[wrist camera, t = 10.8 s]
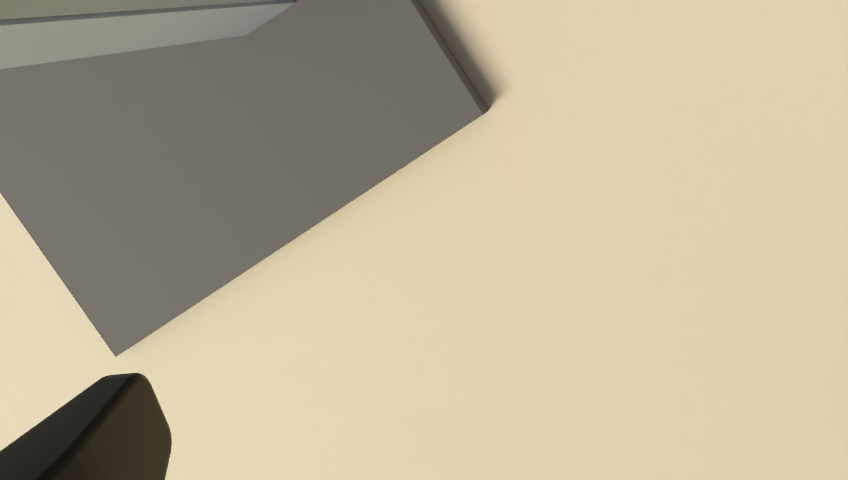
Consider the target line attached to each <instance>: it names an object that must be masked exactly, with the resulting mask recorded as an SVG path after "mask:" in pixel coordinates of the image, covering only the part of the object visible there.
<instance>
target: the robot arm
mask: <svg viewBox="0 0 848 480" xmlns="http://www.w3.org/2000/svg"><path fill="white" fill-rule="evenodd" d="M171 444H172V441H171V432H170V428H169V425H168V423H167V421H166V418H165V416H164V414H163V411H162V409H161V407H160V404H159V402H158V400H157V397H156V395H155V393H154V390H153V388H152V386H151V384H150V382H149V380H148V379H147V378H146V377H145V376H144V375H142V374H139V373H130V374H119V375H109V376H105V377H103V378H101V379H99V380H98V381H97V382H95V383H94V384H93V385H91V386H90V387H88V388H87V389H86V390H84V391H83V392H82V393H80V394H79V395H77V396H76V397H75V398H73V399H72V400H70V401H69V402H68V403H66V404H65V405H64V406H62V407H61V408H59V409H58V410H57V411H55V412H54V413H53V414H51V415H50V416H48V417H47V418H46V419H44V420H43V421H41V422H40V423H39V424H37V425H36V426H35V427H33V428H32V429H30V430H29V431H28V432H26V433H25V434H23V435H22V436H21V437H19V438H18V439H17V440H15V441H14V442H12V443H11V444H10V445H8V446H7V447H6V448H4V449H3V450H1V451H0V480H165V476H166V472H167V467H168V462H169V458H170V453H171Z"/></svg>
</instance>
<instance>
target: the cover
mask: <svg viewBox="0 0 848 480" xmlns="http://www.w3.org/2000/svg"><path fill="white" fill-rule="evenodd" d="M295 3H296V2H295V0H0V70H4V69H11V68H18V67H26V66H33V65H40V64H47V63H54V62H61V61H69V60H76V59H83V58H90V57H97V56H105V55H112V54H119V53H126V52H133V51H141V50H148V49H155V48H162V47H169V46H176V45H184V44H191V43H198V42H205V41H212V40H220V39H227V38H234V37H241V36H245V35H247V34H248V33H250V32H251V31H253V30H254V29H256V28H258V27H259V26H261V25H262V24H264V23H265V22H267V21H268V20H270V19H271V18H273V17H275V16H276V15H278V14H279V13H281V12H282V11H284V10H285V9H287V8H289V7H290V6H292V5H293V4H295Z"/></svg>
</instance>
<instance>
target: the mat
mask: <svg viewBox="0 0 848 480" xmlns="http://www.w3.org/2000/svg"><path fill="white" fill-rule="evenodd" d="M295 2H296V3H295V4H293V5H292V6H290V7H289V8H287V9H285V10H284V11H282V12H281V13H279V14H278V15H276V16H275V17H273V18H271V19H270V20H268V21H267V22H265V23H264V24H262V25H261V26H259V27H258V28H256V29H254V30H253V31H251V32H250V33H248V34H247V35H245V36H241V37H234V38H227V39H220V40H212V41H205V42H198V43H191V44H184V45H176V46H169V47H162V48H155V49H148V50H141V51H133V52H126V53H119V54H112V55H105V56H97V57H90V58H83V59H76V60H69V61H61V62H54V63H47V64H40V65H33V66H26V67H18V68H11V69H4V70H0V193H1V194H2V196H3V197H4V198H5V200H6V201H7V203H8V204H9V206H10V207H11V208H12V210H13V211H14V213H15V214H16V216H17V217H18V218H19V220H20V221H21V223H22V224H23V226H24V227H25V228H26V230H27V231H28V233H29V234H30V236H31V237H32V238H33V240H34V241H35V243H36V244H37V246H38V247H39V248H40V250H41V251H42V253H43V254H44V255H45V257H46V258H47V260H48V261H49V263H50V264H51V265H52V267H53V268H54V270H55V271H56V273H57V274H58V275H59V277H60V278H61V280H62V281H63V283H64V284H65V285H66V287H67V288H68V290H69V291H70V293H71V294H72V295H73V297H74V298H75V300H76V301H77V303H78V304H79V305H80V307H81V308H82V310H83V311H84V312H85V314H86V315H87V317H88V318H89V320H90V321H91V322H92V324H93V325H94V327H95V328H96V330H97V331H98V332H99V334H100V335H101V337H102V338H103V340H104V341H105V342H106V344H107V345H108V347H109V348H110V350H111V351H112V352H113V354H114V355H115V357H116V356H118V355H119V354H121V353H122V352H124V351H125V350H127V349H129V348H130V347H132V346H133V345H135V344H136V343H138V342H139V341H141V340H142V339H144V338H145V337H147V336H148V335H150V334H151V333H153V332H154V331H156V330H157V329H159V328H160V327H162V326H163V325H165V324H166V323H168V322H169V321H171V320H172V319H174V318H175V317H177V316H178V315H180V314H182V313H183V312H185V311H186V310H188V309H189V308H191V307H192V306H194V305H195V304H197V303H198V302H200V301H201V300H203V299H204V298H206V297H207V296H209V295H210V294H212V293H213V292H215V291H216V290H218V289H219V288H221V287H222V286H224V285H225V284H227V283H228V282H230V281H231V280H233V279H234V278H236V277H238V276H239V275H241V274H242V273H244V272H245V271H247V270H248V269H250V268H251V267H253V266H254V265H256V264H257V263H259V262H260V261H262V260H263V259H265V258H266V257H268V256H269V255H271V254H272V253H274V252H275V251H277V250H278V249H280V248H281V247H283V246H284V245H286V244H287V243H289V242H291V241H292V240H294V239H295V238H297V237H298V236H300V235H301V234H303V233H304V232H306V231H307V230H309V229H310V228H312V227H313V226H315V225H316V224H318V223H319V222H321V221H322V220H324V219H325V218H327V217H328V216H330V215H331V214H333V213H334V212H336V211H337V210H339V209H340V208H342V207H343V206H345V205H347V204H348V203H350V202H351V201H353V200H354V199H356V198H357V197H359V196H360V195H362V194H363V193H365V192H366V191H368V190H369V189H371V188H372V187H374V186H375V185H377V184H378V183H380V182H381V181H383V180H384V179H386V178H387V177H389V176H390V175H392V174H393V173H395V172H396V171H398V170H400V169H401V168H403V167H404V166H406V165H407V164H409V163H410V162H412V161H413V160H415V159H416V158H418V157H419V156H421V155H422V154H424V153H425V152H427V151H428V150H430V149H431V148H433V147H434V146H436V145H437V144H439V143H440V142H442V141H443V140H445V139H446V138H448V137H449V136H451V135H452V134H454V133H456V132H457V131H459V130H460V129H462V128H463V127H465V126H466V125H468V124H469V123H471V122H472V121H474V120H475V119H477V118H478V117H480V116H481V115H483V114H484V113H486V112H487V111H488V109H487V108H486V106H485V105H484V103H483V102H482V100H481V98H480V97H479V95H478V94H477V92H476V91H475V89H474V87H473V86H472V84H471V83H470V81H469V80H468V78H467V76H466V75H465V73H464V72H463V70H462V68H461V67H460V65H459V64H458V62H457V61H456V59H455V57H454V56H453V54H452V53H451V51H450V50H449V48H448V46H447V45H446V43H445V42H444V40H443V39H442V37H441V35H440V34H439V32H438V31H437V29H436V27H435V26H434V24H433V23H432V21H431V20H430V18H429V16H428V15H427V13H426V12H425V10H424V9H423V7H422V5H421V4H420V2H419V1H418V0H295Z"/></svg>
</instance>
